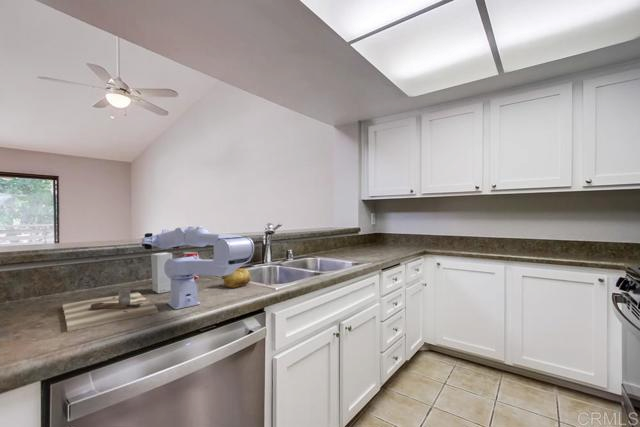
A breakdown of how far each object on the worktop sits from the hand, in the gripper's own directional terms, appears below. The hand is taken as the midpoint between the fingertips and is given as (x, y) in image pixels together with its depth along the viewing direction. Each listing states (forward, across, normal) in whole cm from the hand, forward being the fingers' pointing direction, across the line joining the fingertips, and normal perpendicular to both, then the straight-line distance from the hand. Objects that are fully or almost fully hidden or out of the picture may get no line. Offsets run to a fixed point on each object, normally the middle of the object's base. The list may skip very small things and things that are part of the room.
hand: (153, 243), depth 109 cm
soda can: (+12, -21, +16) cm, 29 cm away
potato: (-12, -29, +20) cm, 37 cm away
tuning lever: (-8, +15, +21) cm, 27 cm away
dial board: (-4, +15, +21) cm, 27 cm away
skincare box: (+6, -6, +19) cm, 20 cm away
